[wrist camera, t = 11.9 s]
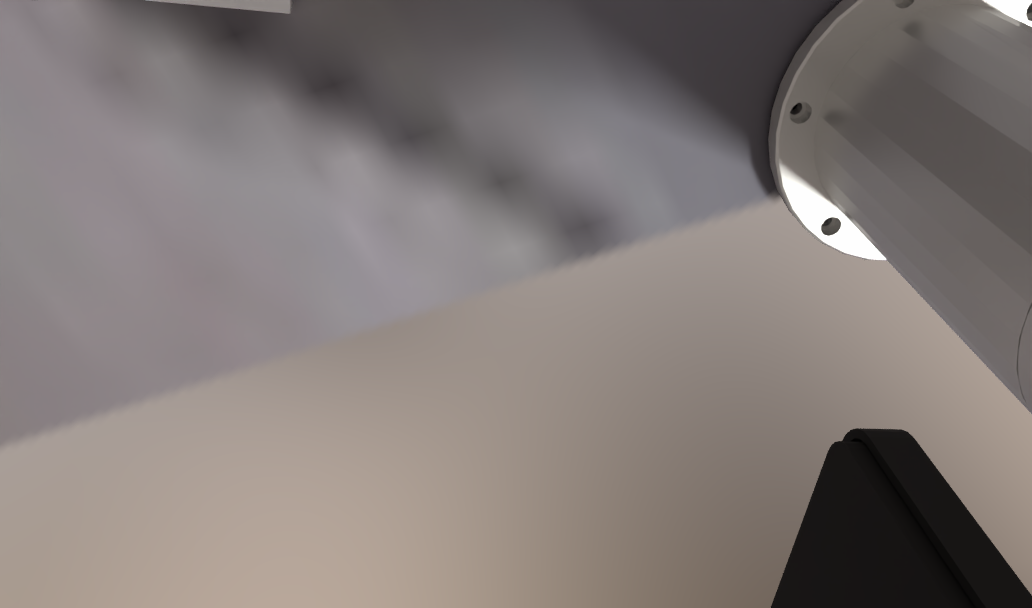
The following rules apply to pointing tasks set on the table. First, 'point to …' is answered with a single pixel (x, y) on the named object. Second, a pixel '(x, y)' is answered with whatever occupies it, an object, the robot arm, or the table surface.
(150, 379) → the table surface
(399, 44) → the table surface
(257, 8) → the chassis
